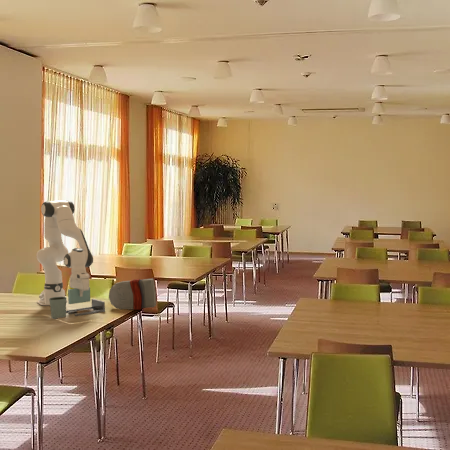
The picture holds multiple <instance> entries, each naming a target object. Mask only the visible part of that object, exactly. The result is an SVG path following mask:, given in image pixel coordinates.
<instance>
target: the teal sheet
mask: <svg viewBox="0 0 450 450" xmlns="http://www.w3.org/2000/svg"><path fill="white" fill-rule="evenodd" d="M79 294H80V291H79V289H75V288H71V289H68V290H67V295H68V296H67V297H68V299H67V303H68V305H75V304H81V303H88V302H91V287H90V286H89V290H87V291H83V296H82V297H80V296H79Z"/></svg>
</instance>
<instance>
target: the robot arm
mask: <svg viewBox="0 0 450 450" xmlns="http://www.w3.org/2000/svg"><path fill="white" fill-rule="evenodd" d="M40 209H41V211H40V212H41V214H42V216H43V217H44V226H43V227H44V228H43V229H44V230H43V231H44V233H43V234H44V235H43V236H44V239H45V240H46V241H47V242H48V245H49V246H48V247H47V246H46V247H43V248H40V249H39V250H37V252H36V260H37V261H38V263H40V265H41V266H42V268H43V271H44V282H45V283H44V287H43V288H44V289H43V290H42V291H41V293H40V294H39V295H38V298H39V300H36V303H38V305H41V306H50V301H49V299H50V298H53V297H66V290H65V289H64V282H63V273H62V272H63V271H62V270H61V269H59V267H58V265H57V263H59V262H60V263H61V262H63V263H64V264H63V265H64V266H65V267H67V268H69V269H70V272H71V273H70V276H69V288H71V289H79V291H80V294H79V296H80V297H82V296H83V291H87V290H89V287H90V277H91V276H90V274H89V273H88V272H87V270H86V269H87V268H89V267H91V266H92V265H93V263H94V255H93V254H92V252H91V250H90V248H89V245H88V243H87V241H86V237H85V234H84V232H83V231H82V229H81V228H79V226H78V225H77V224H76V222H75V217H74V213H75V210H76V209H75V204H74V203H73V201H70V200H50V201H48V200H47V201H44V202H43V203H42V204H41V208H40ZM62 235H63V236H65V237H69V238H72V239H74V240H76V241H77V243H78V246H79V248H78V247H75V248H73V249H71V251H70V252H69V250H68V248H67V247H66V246H65V245H64V244H65V243H64V241H63V238H62ZM66 303H68V299H66Z"/></svg>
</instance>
